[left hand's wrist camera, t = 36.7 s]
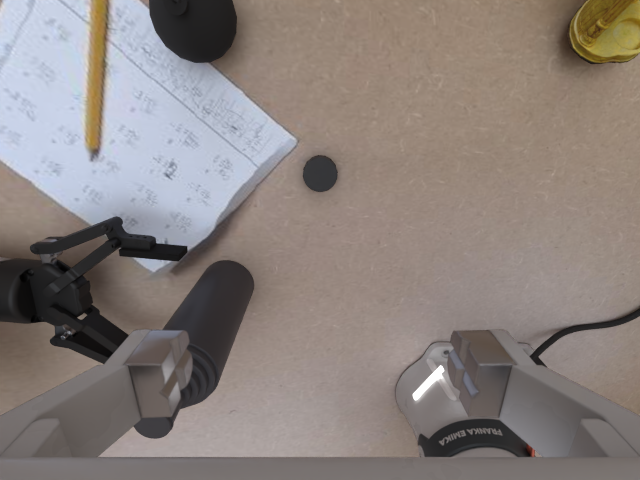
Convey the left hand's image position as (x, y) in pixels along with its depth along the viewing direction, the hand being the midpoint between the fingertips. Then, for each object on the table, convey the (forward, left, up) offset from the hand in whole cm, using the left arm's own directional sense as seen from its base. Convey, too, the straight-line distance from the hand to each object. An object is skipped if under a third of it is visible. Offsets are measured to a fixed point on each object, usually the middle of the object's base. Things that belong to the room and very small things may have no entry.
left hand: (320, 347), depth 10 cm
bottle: (+15, +13, -34) cm, 39 cm away
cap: (0, 0, -32) cm, 32 cm away
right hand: (+19, +12, -27) cm, 35 cm away
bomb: (+9, -17, -34) cm, 39 cm away
